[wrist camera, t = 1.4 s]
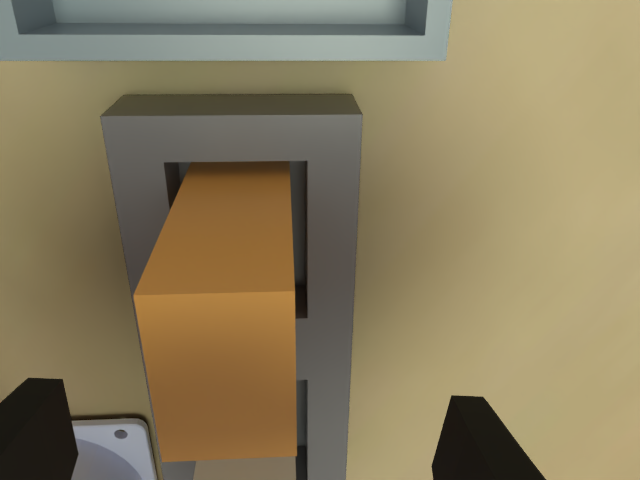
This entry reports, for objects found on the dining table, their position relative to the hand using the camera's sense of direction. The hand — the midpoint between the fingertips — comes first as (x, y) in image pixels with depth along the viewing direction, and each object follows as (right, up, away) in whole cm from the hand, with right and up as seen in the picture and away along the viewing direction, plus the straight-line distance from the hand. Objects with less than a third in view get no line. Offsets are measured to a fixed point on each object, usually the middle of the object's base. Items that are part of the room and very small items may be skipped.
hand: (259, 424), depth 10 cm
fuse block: (-1, +1, +10) cm, 10 cm away
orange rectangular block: (-1, +4, +8) cm, 9 cm away
